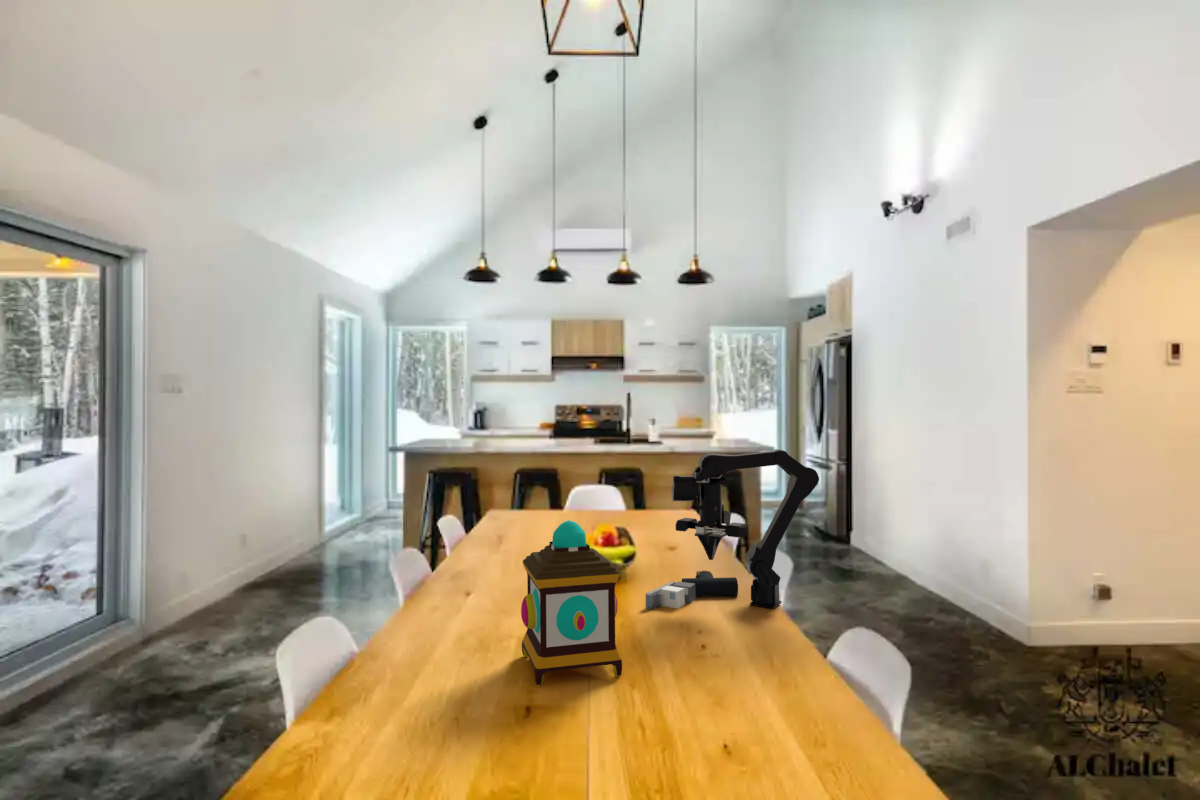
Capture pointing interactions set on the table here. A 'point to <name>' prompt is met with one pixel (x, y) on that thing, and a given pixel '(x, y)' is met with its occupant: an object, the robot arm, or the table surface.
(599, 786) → the table surface
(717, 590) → the pipe connector
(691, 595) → the block
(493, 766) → the table surface
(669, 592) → the block
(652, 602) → the rail
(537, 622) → the decorative lantern
